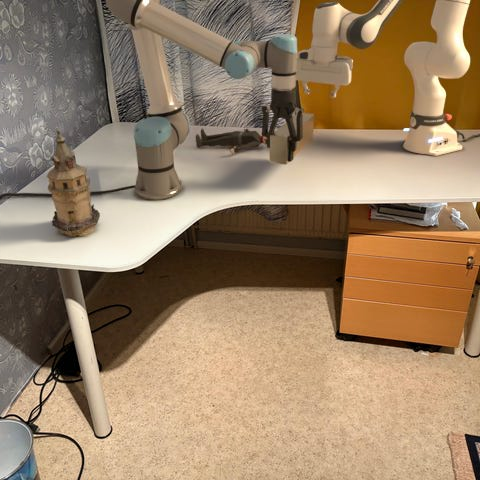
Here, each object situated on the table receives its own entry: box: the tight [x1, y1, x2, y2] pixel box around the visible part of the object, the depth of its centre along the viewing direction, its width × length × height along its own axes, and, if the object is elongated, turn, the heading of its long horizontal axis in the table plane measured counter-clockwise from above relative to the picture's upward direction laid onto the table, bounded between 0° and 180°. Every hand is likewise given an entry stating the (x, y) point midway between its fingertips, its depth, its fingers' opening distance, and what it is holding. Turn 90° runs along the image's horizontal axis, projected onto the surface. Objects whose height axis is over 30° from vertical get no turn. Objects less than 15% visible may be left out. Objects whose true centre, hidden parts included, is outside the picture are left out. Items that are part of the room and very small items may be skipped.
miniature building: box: [46, 129, 101, 237], centre depth 148 cm, size 13×14×30 cm
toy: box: [195, 127, 267, 155], centre depth 214 cm, size 26×6×30 cm
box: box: [269, 112, 315, 165], centre depth 183 cm, size 27×6×9 cm, turn 155°
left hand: (281, 158), depth 177 cm, fingers closed on box, 6 cm apart
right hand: (320, 95), depth 187 cm, fingers open, 8 cm apart
